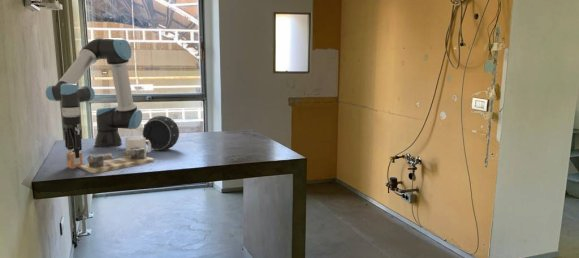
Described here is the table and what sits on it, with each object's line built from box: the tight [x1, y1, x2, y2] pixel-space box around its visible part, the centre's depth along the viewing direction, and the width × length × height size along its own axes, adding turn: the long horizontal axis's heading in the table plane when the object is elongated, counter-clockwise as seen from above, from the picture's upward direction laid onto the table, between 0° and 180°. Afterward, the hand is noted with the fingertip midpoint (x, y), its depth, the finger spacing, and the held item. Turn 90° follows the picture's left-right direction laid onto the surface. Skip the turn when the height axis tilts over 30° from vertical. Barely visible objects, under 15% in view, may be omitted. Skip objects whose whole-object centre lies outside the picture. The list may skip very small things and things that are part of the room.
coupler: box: [65, 151, 84, 169], centre depth 212 cm, size 4×6×7 cm
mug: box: [125, 136, 152, 157], centre depth 236 cm, size 14×10×11 cm
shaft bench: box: [78, 148, 155, 174], centre depth 217 cm, size 32×14×6 cm, turn 141°
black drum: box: [142, 115, 180, 152], centre depth 251 cm, size 11×20×20 cm, turn 78°
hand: (74, 163), depth 212 cm, fingers closed on coupler, 4 cm apart
